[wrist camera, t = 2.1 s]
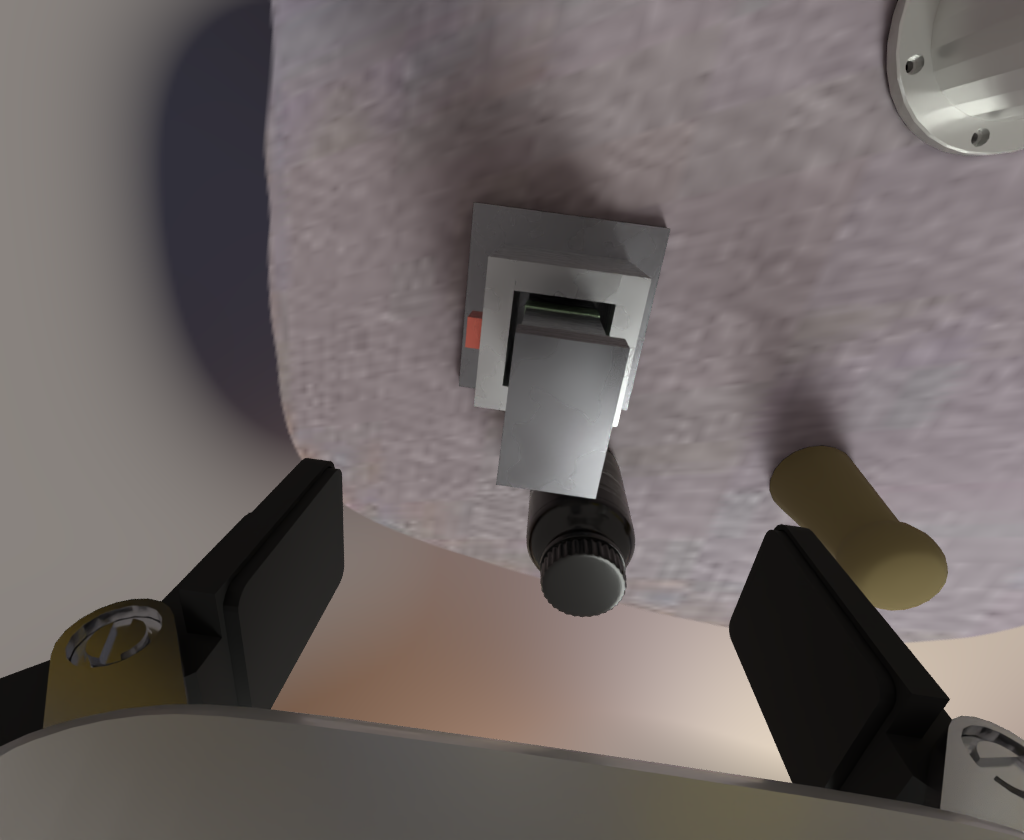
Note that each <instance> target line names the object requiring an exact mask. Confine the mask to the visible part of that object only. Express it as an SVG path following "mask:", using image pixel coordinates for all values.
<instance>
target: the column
mask: <svg viewBox="0 0 1024 840" xmlns="http://www.w3.org/2000/svg"><path fill="white" fill-rule="evenodd" d="M629 351H630V347H629V345H628V343H627V342H626V340H625V339H624V338H617V337H610V336H606V334H605V331H604V329H603V326H602V323H601V321H600V314H599V312H598V310H596V308H595V306H594V303H593V301H588V300H581V299H573V298H566V297H559V296H552V295H544V294H537V293H530V294H529V298H528V300H527V301H526V305H525V312H524V317H523V321H522V324H518V325H517V328H516V332H515V339H514V347H513V355H512V363H511V371H510V379H509V386H508V394H507V402H506V410H505V418H504V426H503V434H502V442H501V450H500V458H499V466H498V474H497V481H496V485H503V486H510V487H517V488H523V489H530V490H537V491H544V492H551V493H558V494H564V495H571V496H578V497H585V498H592V499H596V495H597V490H598V486H599V482H600V477H601V473H602V469H603V464H604V460H605V456H606V451H607V447H608V443H609V438H610V434H611V430H612V425H613V421H614V416H615V412H616V408H617V403H618V399H619V395H620V390H621V386H622V382H623V377H624V373H625V369H626V364H627V360H628V355H629Z"/></svg>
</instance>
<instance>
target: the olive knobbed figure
mask: <svg viewBox="0 0 1024 840" xmlns="http://www.w3.org/2000/svg"><path fill="white" fill-rule="evenodd" d="M770 493H771V495H772V498H773V500H774V502H775V503H776V504H777V505H778V506H779V507H780V508H781V509H782V510H783V511H784V512H785V513H786V514H788V515H789V516H790V517H791V518H792V519H793V520H794V521H795V522H796V523H797V524H798V525H799V526H800V527H804V528H808V529H810V530H811V531H812V532H813V533H814V534H815V535H816V536H817V538H818V539H819V540H820V541H821V542H822V544H823V545H824V546H825V547H826V549H827V550H828V551H829V552H830V553H831V555H832V556H833V557H834V558H835V559H836V561H837V562H838V563H839V564H840V566H841V567H842V568H843V569H844V570H845V572H846V573H847V574H848V575H849V577H850V578H851V579H852V580H853V581H854V583H855V584H856V585H857V586H858V588H859V589H860V590H861V591H862V592H863V594H864V595H865V596H866V597H867V599H868V600H869V601H870V602H871V603H872V605H873V606H874V607H877V608H880V609H886V610H905V609H909V608H912V607H916V606H919V605H921V604H923V603H925V602H927V601H929V600H930V599H931V598H933V597H934V596H935V595H936V594H937V593H939V592H940V590H941V589H942V587H943V586H944V584H945V583H946V579H947V574H948V569H947V563H946V558H945V555H944V554H943V552H942V550H941V549H940V547H939V546H938V545H937V544H936V543H935V541H934V540H933V539H932V538H931V537H929V536H928V535H927V534H926V533H924V532H922V531H920V530H918V529H917V528H915V527H913V526H911V525H909V524H907V523H903V522H899V521H898V519H897V518H896V517H895V515H894V514H893V513H892V512H891V510H890V509H889V508H888V506H887V505H886V504H885V503H884V501H883V500H882V499H881V497H880V496H879V495H878V494H877V492H876V491H875V490H874V488H873V487H872V486H871V485H870V483H869V482H868V481H867V479H866V478H865V477H864V476H863V474H862V473H861V472H860V470H859V469H858V468H857V467H856V465H855V464H854V463H853V461H852V460H851V459H850V458H849V457H848V456H847V454H846V453H844V452H842V451H840V450H838V449H836V448H833V447H827V446H814V447H807V448H804V449H802V450H799V451H796V452H794V453H793V454H791V455H790V456H788V457H787V458H785V459H784V460H783V461H782V462H781V463H780V464H779V465H778V467H777V468H776V469H775V471H774V473H773V475H772V477H771V480H770Z"/></svg>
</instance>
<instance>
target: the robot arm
mask: <svg viewBox="0 0 1024 840" xmlns="http://www.w3.org/2000/svg"><path fill="white" fill-rule="evenodd" d="M906 64H907V66H908V70H907V71H906V69H905V68H906ZM887 76H888V82H889V88H890V94H891V96H892V99H893V101H894V104H895V107H896V109H897V112H898V114H899V116H900V117H901V118H902V120H903V121H904V123H905V124H906V125H907V127H908V128H909V129H910V131H911V132H912V133H914V134H915V135H916V136H917V137H918V138H920V139H921V140H922V141H923V142H925V143H926V144H928V145H930V146H932V147H934V148H936V149H939V150H941V151H943V152H946V153H951V154H957V155H962V156H989V155H996V154H1003V153H1010V152H1015V151H1018V150H1022V149H1024V0H898V2H897V5H896V8H895V11H894V13H893V17H892V22H891V27H890V33H889V38H888V43H887ZM343 542H344V540H343V496H342V472H341V470H340V469H335V467H334V464H333V463H332V462H331V461H324V460H317V459H310V458H305V459H303V460H302V461H301V462H300V463H299V464H298V465H297V466H296V467H295V468H294V469H293V470H292V471H291V472H290V473H289V474H288V475H287V476H286V477H285V478H284V479H283V481H282V482H281V483H280V484H279V485H278V486H277V487H276V488H275V489H274V490H273V491H272V492H271V493H270V494H269V495H268V496H267V497H266V498H265V499H264V500H263V501H262V502H261V503H260V504H259V505H258V506H257V508H256V509H255V510H254V511H253V512H251V513H249V514H247V515H246V516H245V517H243V518H242V519H241V521H239V522H238V523H237V524H236V525H235V526H234V528H233V529H232V530H231V531H230V532H229V533H228V534H227V535H226V536H225V537H224V538H223V539H222V540H221V541H220V542H219V543H218V544H217V545H216V546H215V547H214V548H213V549H212V550H211V551H210V552H209V553H208V554H207V555H206V556H205V557H204V558H203V559H202V561H200V562H199V563H198V564H197V565H196V567H194V569H193V570H192V571H191V572H190V573H189V574H188V575H187V576H186V577H185V578H184V579H183V580H182V581H181V582H180V583H179V584H178V585H177V586H176V587H175V588H174V589H173V590H172V591H171V592H170V593H169V594H168V595H167V596H166V597H165V598H164V599H163V600H162V601H157V600H153V599H131V600H126V601H121V602H116V603H113V604H110V605H108V606H105V607H102V608H100V609H97V610H95V611H93V612H92V613H90V614H88V615H87V616H84V617H83V618H81V619H79V620H78V621H77V622H76V623H74V624H73V625H72V626H71V627H69V628H68V629H67V630H66V631H65V632H64V633H63V634H62V635H61V637H60V638H59V639H58V640H57V642H56V643H55V645H54V648H53V651H52V653H51V658H50V660H49V661H46V662H44V663H41V664H38V665H35V666H33V667H30V668H27V669H24V670H22V671H19V672H16V673H14V674H11V675H8V676H6V677H3V678H0V840H1024V740H1022V739H1021V738H1020V737H1018V736H1017V735H1015V734H1013V733H1012V732H1010V731H1009V730H1006V729H1004V728H1002V727H1000V726H998V725H996V724H994V723H992V722H989V721H986V720H983V719H980V718H977V717H969V716H960V717H957V718H955V719H951V718H950V717H949V715H948V714H947V713H946V711H945V710H944V709H943V708H944V707H945V706H946V704H947V703H948V701H949V700H950V699H949V697H948V696H947V695H946V694H945V693H944V691H943V690H942V689H941V688H940V686H939V685H938V684H937V683H936V682H935V680H934V679H933V678H932V677H931V675H930V674H929V673H928V672H927V671H926V669H925V668H924V667H923V666H922V665H921V663H920V662H919V661H918V660H917V658H916V657H915V656H914V655H913V654H912V652H911V651H910V650H909V649H908V647H907V646H906V645H905V644H904V642H903V641H902V640H901V639H900V638H899V636H898V635H897V634H896V633H895V631H894V630H893V629H892V628H891V627H890V625H889V624H888V623H887V622H886V621H885V619H884V618H883V617H882V616H881V614H880V613H879V612H878V611H877V610H876V608H875V607H874V606H873V605H872V603H871V602H870V601H869V600H868V599H867V597H866V596H865V595H864V594H863V592H862V591H861V590H860V589H859V588H858V586H857V585H856V584H855V583H854V581H853V580H852V579H851V578H850V577H849V575H848V574H847V573H846V572H845V570H844V569H843V568H842V567H841V566H840V564H839V563H838V562H837V561H836V559H835V558H834V557H833V556H832V555H831V553H830V552H829V551H828V550H827V549H826V547H825V546H824V545H823V544H822V542H821V541H820V540H819V539H818V538H817V536H816V535H815V534H814V533H813V532H812V531H811V530H810V529H808V528H804V527H796V526H789V525H782V524H781V525H778V526H777V527H775V529H774V530H769V531H768V532H767V533H766V535H765V537H764V539H763V542H762V544H761V547H760V549H759V551H758V554H757V556H756V559H755V561H754V564H753V566H752V568H751V571H750V573H749V576H748V578H747V581H746V583H745V586H744V588H743V590H742V593H741V595H740V598H739V600H738V603H737V605H736V608H735V610H734V612H733V615H732V617H731V620H730V624H729V633H730V637H731V640H732V643H733V645H734V647H735V650H736V652H737V655H738V657H739V659H740V661H741V664H742V666H743V669H744V671H745V673H746V676H747V678H748V680H749V682H750V685H751V687H752V690H753V692H754V694H755V697H756V699H757V701H758V704H759V706H760V708H761V711H762V713H763V715H764V718H765V720H766V722H767V725H768V727H769V730H770V732H771V734H772V736H773V739H774V741H775V743H776V746H777V748H778V751H779V753H780V755H781V758H782V760H783V762H784V765H785V767H786V769H787V772H788V774H789V776H790V779H791V781H792V783H788V782H781V781H774V780H768V779H761V778H755V777H748V776H741V775H735V774H728V773H722V772H715V771H708V770H702V769H695V768H689V767H682V766H675V765H669V764H662V763H655V762H647V761H641V760H635V759H628V758H621V757H614V756H607V755H600V754H593V753H587V752H580V751H573V750H566V749H559V748H552V747H544V746H538V745H531V744H524V743H517V742H510V741H503V740H497V739H489V738H482V737H474V736H468V735H461V734H453V733H446V732H439V731H431V730H425V729H418V728H410V727H403V726H396V725H389V724H382V723H374V722H367V721H360V720H353V719H345V718H336V717H328V716H320V715H311V714H303V713H295V712H287V711H279V710H271V707H272V706H273V704H274V702H275V700H276V698H277V697H278V695H279V693H280V691H281V689H282V687H283V686H284V684H285V682H286V680H287V678H288V676H289V674H290V673H291V671H292V669H293V667H294V665H295V664H296V662H297V660H298V658H299V656H300V654H301V653H302V651H303V649H304V647H305V646H306V644H307V642H308V640H309V638H310V636H311V635H312V633H313V631H314V629H315V627H316V626H317V624H318V622H319V620H320V618H321V616H322V615H323V613H324V611H325V609H326V607H327V605H328V603H329V602H330V600H331V598H332V596H333V595H334V593H335V590H336V589H337V587H338V585H339V583H340V581H341V579H342V576H343V571H344V543H343Z"/></svg>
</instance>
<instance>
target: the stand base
mask: <svg viewBox="0 0 1024 840" xmlns="http://www.w3.org/2000/svg"><path fill="white" fill-rule="evenodd" d="M669 233H670V229H669V228H664V227H656V226H649V225H641V224H634V223H626V222H619V221H611V220H604V219H597V218H589V217H582V216H574V215H567V214H559V213H552V212H544V211H537V210H529V209H522V208H515V207H507V206H500V205H492V204H485V203H477V202H474V205H473V217H472V230H471V242H470V254H469V267H468V279H467V291H466V304H465V316H464V328H463V341H462V353H461V366H460V378H459V386H461V387H468V388H475V400H474V406H475V407H482V408H489V409H496V410H503V411H505V410H506V402H507V394H508V386H509V379H510V371H511V363H512V355H513V347H514V339H515V332H516V328H517V325H518V324H522V321H523V317H524V312H525V305H526V301H527V300H528V298H529V294H530V293H537V294H544V295H552V296H559V297H566V298H573V299H581V300H588V301H593V303H594V306H595V308H596V310H598V312H599V314H600V321H601V323H602V326H603V329H604V331H605V334H606V336H610V337H617V338H624V339H625V340H626V342H627V343H628V345H629V347H630V351H629V355H628V360H627V364H626V369H625V373H624V377H623V382H622V386H621V390H620V395H619V399H618V403H617V408H616V412H615V416H614V421H613V425H612V426H615V427H617V425H618V420H619V416H620V412H621V409H623V410H627V408H628V404H629V399H630V395H631V391H632V387H633V383H634V379H635V374H636V370H637V366H638V362H639V358H640V354H641V349H642V345H643V341H644V337H645V333H646V329H647V324H648V320H649V316H650V312H651V308H652V304H653V299H654V295H655V291H656V287H657V283H658V279H659V274H660V270H661V266H662V262H663V258H664V253H665V249H666V245H667V241H668V237H669Z"/></svg>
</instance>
